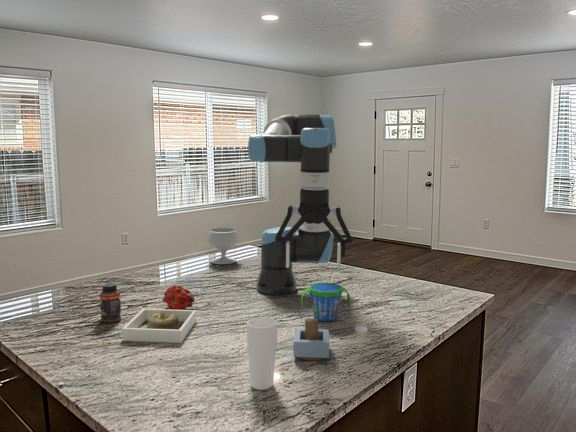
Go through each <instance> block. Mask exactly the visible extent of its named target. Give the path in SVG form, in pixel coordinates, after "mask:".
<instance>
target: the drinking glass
mask: <svg viewBox="0 0 576 432" xmlns="http://www.w3.org/2000/svg"><path fill="white" fill-rule="evenodd" d="M277 323H278V322H277V320H275V319H274V318H270V317H265V316H263V317H262V316H261V317H260V316H259V317H254V318H251V319H249V320H247V322H246V324H247V325H246V345H247V356H248V368H249V369H248V370H249V383H250V387H251V388H252V389H254V390H258V391H265V390H268V389H271V388H272V387H273V385H274V378H275V377H274V376H275V375H274V374H275V363H276V353H277V344H278V343H277V342H278V324H277Z"/></svg>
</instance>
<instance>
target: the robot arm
mask: <svg viewBox="0 0 576 432" xmlns="http://www.w3.org/2000/svg"><path fill="white" fill-rule="evenodd" d="M335 127H336V126H335V121H334V118H333V116H332V115H329V114H321V113H319V114H293V113H291V114H290V113H289V114H284V115H281V116H278V117H275V118H273V119H271V120H270V121H268V122H267V124H265V126H264V129H263V133H262V134H261V133H258V134H252V135H250V136H249V137H248V143H247V144H248V145H247V147H248V148H247V151H248V159H249V160H250V161H251V162H256V163H258V162H259V163H300V171H299V174H300V176H299V179H300V183H299V184H300V185H299V186H300V187H301V188H300V190H299V206H293V205H288V207H287V212H286V216H285V218H284V219H283V222H282V224H281V225H280V226H279V227H277V226H276V227H273V228H269V229H265V230H264V231H263V232H262V234H261V237H260V239H261V241H260V247H261V250H260V252H261V254H260V255H261V257H260V258H261V259H260V263H261V264H260V266H261V267H260V271H259V274H258V277H257V281H256V285H255V286H256V287H255V288H256V289H255V290H256V291H257V292H258V293H262V294H265V295H271V296H278V295H280V296H281V295H289V294H292V293H294V292H296V291H297V286H298V285H297V280H296V278H295V274H294V272H293V263H297V264H299V263H301V264H327V263H329V262H330V260H331V257H332V252H333V246H334V240H335V239H334V238H336V239H337V241H338V242H337V252H336V253H337V257H336V259H337V260H336V268H337V270H341V257H345V255H346V245H347V244H349V243H352V242H353V237H352V235H351V233H350V232H349V229H348V227H347V225H346V223H345V220H344V218H343V215H342V212H341V211H342V210H341V207H340V206H338V205H337V206H335V207H330V204H329V202H330V200H329V199H330V190H329V189H328V188H329V187H330V163H331V162H330V159H331V158H330V157H331V155H332V154H333V150H334V149H336V148H337V137H336V128H335ZM296 212H298V214H299V215H300V217H299V219H298V220H297V221H296V223H295V224H294V225H293V226H292V227H291V226H288V224H289V222H290V220H291V218H292V216H293V215H295V214H296ZM331 213H332V214H333V216H335V217H336V219H337V221H338V223H339V226H340V228H341V230H342V231H343V233H344V236H345V237H343V235H342V234H341V233H340V232H339V231H338V229H337V228H336V227H335V226H334V224H333V223H332V222H331V221H330V219H328V216H329V215H330V214H331Z"/></svg>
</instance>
